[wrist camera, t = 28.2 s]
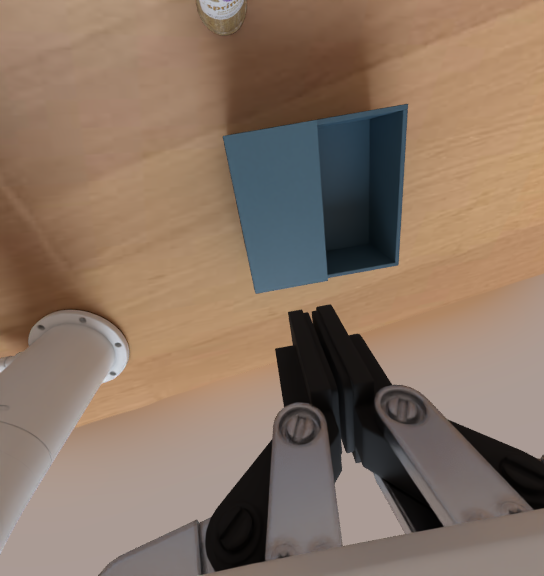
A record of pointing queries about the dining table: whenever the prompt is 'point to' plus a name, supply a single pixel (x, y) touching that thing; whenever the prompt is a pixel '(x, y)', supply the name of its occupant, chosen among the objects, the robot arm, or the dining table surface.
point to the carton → (362, 188)
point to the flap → (280, 204)
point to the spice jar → (222, 15)
